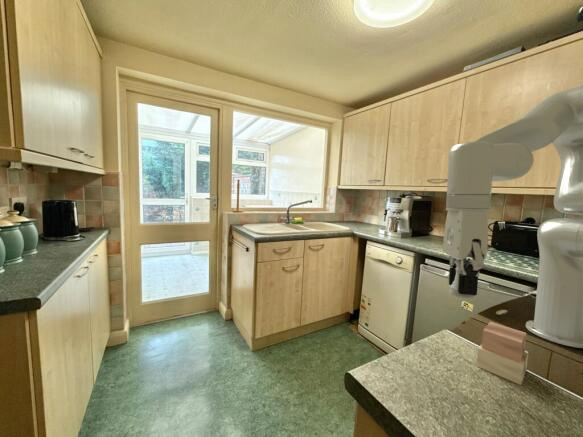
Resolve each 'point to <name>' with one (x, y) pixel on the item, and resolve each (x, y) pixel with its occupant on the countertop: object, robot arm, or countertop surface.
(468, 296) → the rook chess piece
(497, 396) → the countertop surface
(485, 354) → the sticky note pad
